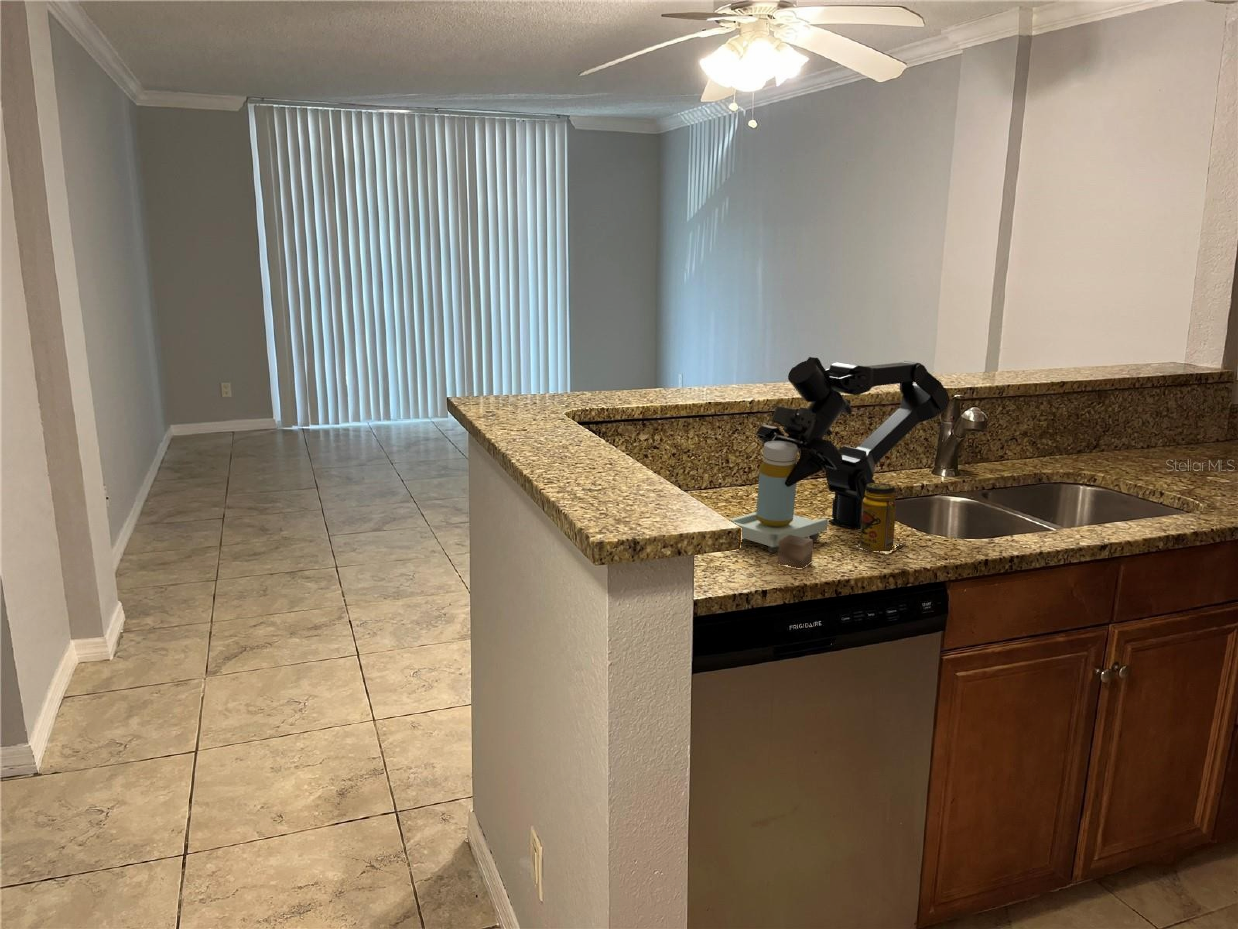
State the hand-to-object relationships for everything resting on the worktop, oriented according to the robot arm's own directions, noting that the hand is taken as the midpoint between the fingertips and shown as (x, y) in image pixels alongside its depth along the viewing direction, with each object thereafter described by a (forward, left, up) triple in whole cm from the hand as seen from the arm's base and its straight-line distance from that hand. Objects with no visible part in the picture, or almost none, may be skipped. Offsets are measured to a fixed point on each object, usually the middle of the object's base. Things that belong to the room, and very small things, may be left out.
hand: (773, 481), depth 173 cm
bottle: (0, -1, -8) cm, 8 cm away
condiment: (-15, -13, -12) cm, 23 cm away
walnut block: (-11, +7, -12) cm, 18 cm away
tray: (0, -1, -12) cm, 12 cm away
